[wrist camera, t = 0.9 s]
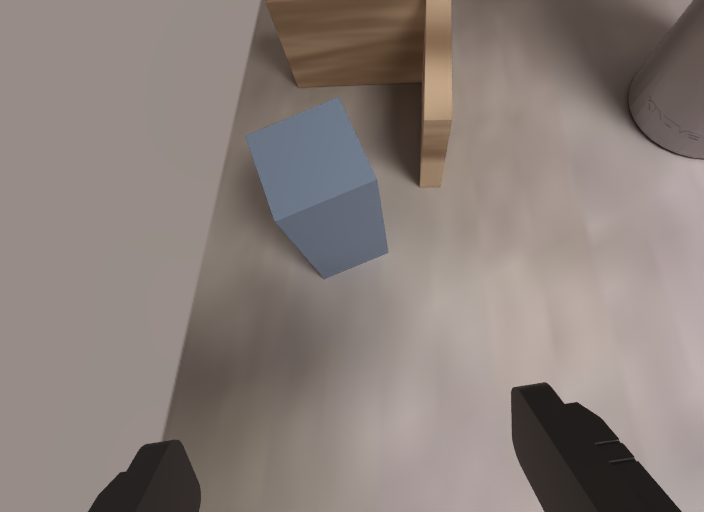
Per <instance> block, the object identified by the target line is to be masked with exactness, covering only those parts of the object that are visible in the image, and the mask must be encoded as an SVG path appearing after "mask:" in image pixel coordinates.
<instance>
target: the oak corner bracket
mask: <svg viewBox="0 0 704 512" xmlns="http://www.w3.org/2000/svg"><path fill="white" fill-rule="evenodd" d="M266 4H267V7H268V9H269V12H270V15H271V17H272V20H273V23H274V25H275V28H276V30H277V33H278V36H279V38H280V41H281V44H282V46H283V49H284V51H285V54H286V57H287V59H288V62H289V65H290V67H291V70H292V73H293V75H294V78H295V80H296V83H297V86H298V87H322V86H346V85H371V84H395V83H420V82H422V105H421V153H420V187H440V186H441V180H442V174H443V168H444V163H445V157H446V151H447V146H448V140H449V134H450V128H451V123H452V31H451V0H266Z"/></svg>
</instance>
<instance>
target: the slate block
mask: <svg viewBox="0 0 704 512" xmlns="http://www.w3.org/2000/svg"><path fill="white" fill-rule="evenodd" d="M245 137H246V140H247V143H248V146H249V148H250V151H251V154H252V157H253V160H254V163H255V166H256V169H257V172H258V175H259V178H260V181H261V184H262V186H263V189H264V192H265V195H266V198H267V201H268V204H269V207H270V210H271V213H272V216H273V219H274V222H275V223H276V224H277V225H278V226H279V227H280V229H281V230H282V231H283V232H284V233H285V234H286V236H287V237H288V238H289V239H290V240H291V241H292V242H293V244H294V245H295V246H296V247H297V248H298V249H299V250H300V252H301V253H302V254H303V255H304V256H305V257H306V259H307V260H308V261H309V262H310V263H311V264H312V265H313V267H314V268H315V269H316V270H317V271H318V272H319V273H320V275H321V276H322V277H323V278H324V279H325V278H328V277H330V276H333V275H335V274H338V273H340V272H343V271H345V270H347V269H350V268H352V267H355V266H357V265H360V264H362V263H364V262H367V261H369V260H372V259H374V258H377V257H379V256H381V255H384V254H386V253H388V247H387V241H386V234H385V228H384V221H383V215H382V208H381V202H380V196H379V189H378V183H377V178H376V176H375V174H374V172H373V170H372V168H371V165H370V163H369V161H368V159H367V157H366V155H365V152H364V150H363V148H362V146H361V144H360V142H359V139H358V137H357V135H356V133H355V131H354V129H353V126H352V124H351V122H350V120H349V118H348V116H347V113H346V111H345V109H344V107H343V105H342V103H341V100H340V98H339V97H337V98H335V99H332V100H330V101H327V102H325V103H323V104H320V105H318V106H315V107H313V108H311V109H308V110H306V111H303V112H301V113H299V114H296V115H294V116H292V117H289V118H287V119H284V120H282V121H280V122H277V123H275V124H272V125H270V126H268V127H265V128H263V129H260V130H258V131H256V132H253V133H251V134H248V135H246V136H245Z"/></svg>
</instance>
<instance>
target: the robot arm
mask: <svg viewBox="0 0 704 512" xmlns="http://www.w3.org/2000/svg"><path fill="white" fill-rule="evenodd" d="M628 100H629V108H630V111H631V114H632V116H633V119H634V120H635V122H636V123H637V125H638V126H639V128H640V129H641V130H642V131H643V132H644V133H645V134H646V135H647V136H648V137H649V138H650V139H651V140H653V141H654V142H656V143H657V144H659V145H660V146H662V147H663V148H666V149H668V150H670V151H673V152H675V153H677V154H681V155H685V156H689V157H692V158H701V159H704V0H693V1H692V2H691V4H690V5H689V6H688V7H687V9H686V10H685V11H684V13H683V14H682V15H681V17H680V18H679V19H678V21H677V22H676V23H675V25H674V26H673V27H672V28H671V29H670V31H669V32H668V33H667V35H666V36H665V37H664V39H663V40H662V41H661V43H660V44H659V45H658V47H657V48H656V49H655V51H654V52H653V53H652V54H651V56H650V57H649V58H648V60H647V61H646V62H645V64H644V65H643V66H642V68H641V69H640V70H639V72H638V73H637V74H636V75H635V77H634V79H633V81H632V83H631V85H630V89H629V95H628ZM511 413H512V440H513V445H514V449H515V452H516V456H517V458H518V461H519V463H520V465H521V467H522V469H523V471H524V473H525V475H526V477H527V479H528V481H529V483H530V485H531V487H532V488H533V490H534V492H535V494H536V496H537V498H538V500H539V502H540V504H541V506H542V508H543V510H544V512H681V510H680V509H679V508H678V507H677V506H676V505H675V503H674V502H673V501H672V500H671V499H670V498H669V496H668V495H667V494H666V493H665V492H664V491H663V489H662V488H661V487H660V486H659V485H658V484H657V483H656V481H655V480H654V479H653V478H652V477H651V476H650V474H649V473H648V472H647V471H646V470H645V469H644V467H643V466H642V465H641V464H640V463H639V462H638V461H636V460H635V458H634V456H633V455H632V453H631V452H630V451H629V450H628V449H627V448H626V446H625V445H624V444H623V443H620V441H619V438H618V437H617V436H616V435H615V434H614V432H613V431H612V430H611V429H610V428H609V427H608V425H607V424H606V423H605V422H604V421H603V420H602V419H601V418H600V417H599V416H597V415H596V414H594V413H593V412H591V411H590V410H588V409H587V408H585V407H584V406H582V405H581V404H579V403H578V402H575V403H568V404H564V403H563V402H562V400H561V399H560V398H559V396H558V395H557V394H556V392H555V391H554V390H553V389H552V387H551V386H550V385H549V384H547V383H545V382H544V383H538V384H531V385H525V386H519V387H513V388H512V391H511ZM200 501H201V491H200V485H199V482H198V480H197V477H196V475H195V473H194V470H193V468H192V466H191V463H190V461H189V459H188V456H187V454H186V452H185V449H184V447H183V445H182V443H181V442H180V441H179V440H170V441H164V442H158V443H152V444H146V445H144V446H142V447H141V448H140V449H139V451H138V452H137V454H136V456H135V458H134V459H133V461H132V463H131V464H130V466H129V468H128V470H127V471H126V472H120V473H119V474H118V475H117V476H116V477H115V479H113V481H112V482H110V483H109V485H108V486H107V487H106V488H105V489H104V490H103V491H102V492H101V493H100V494H99V495H98V497H97V498H96V500H95V501H94V503H93V505H92V506H91V508H90V510H89V511H88V512H199V508H200Z"/></svg>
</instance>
